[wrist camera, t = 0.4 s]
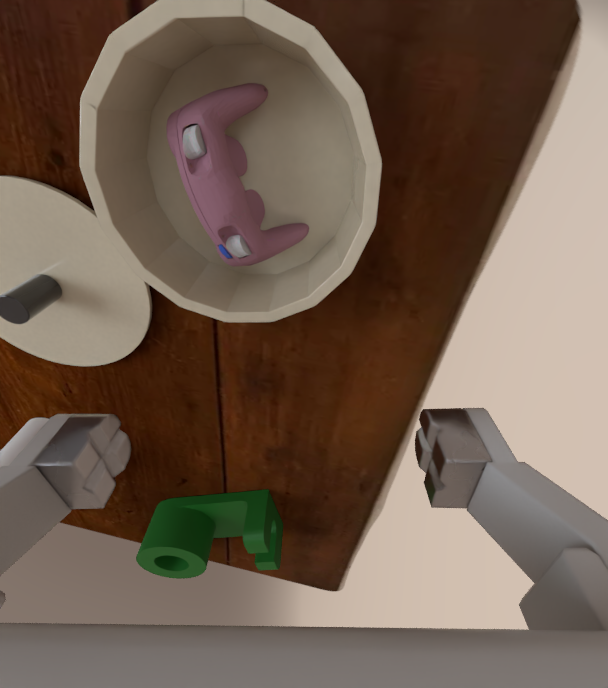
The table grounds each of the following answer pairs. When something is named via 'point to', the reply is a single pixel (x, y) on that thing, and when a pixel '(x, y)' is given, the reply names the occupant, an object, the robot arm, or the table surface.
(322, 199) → the cream bowl
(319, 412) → the table surface
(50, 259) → the lid
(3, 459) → the tube
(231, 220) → the video game controller
